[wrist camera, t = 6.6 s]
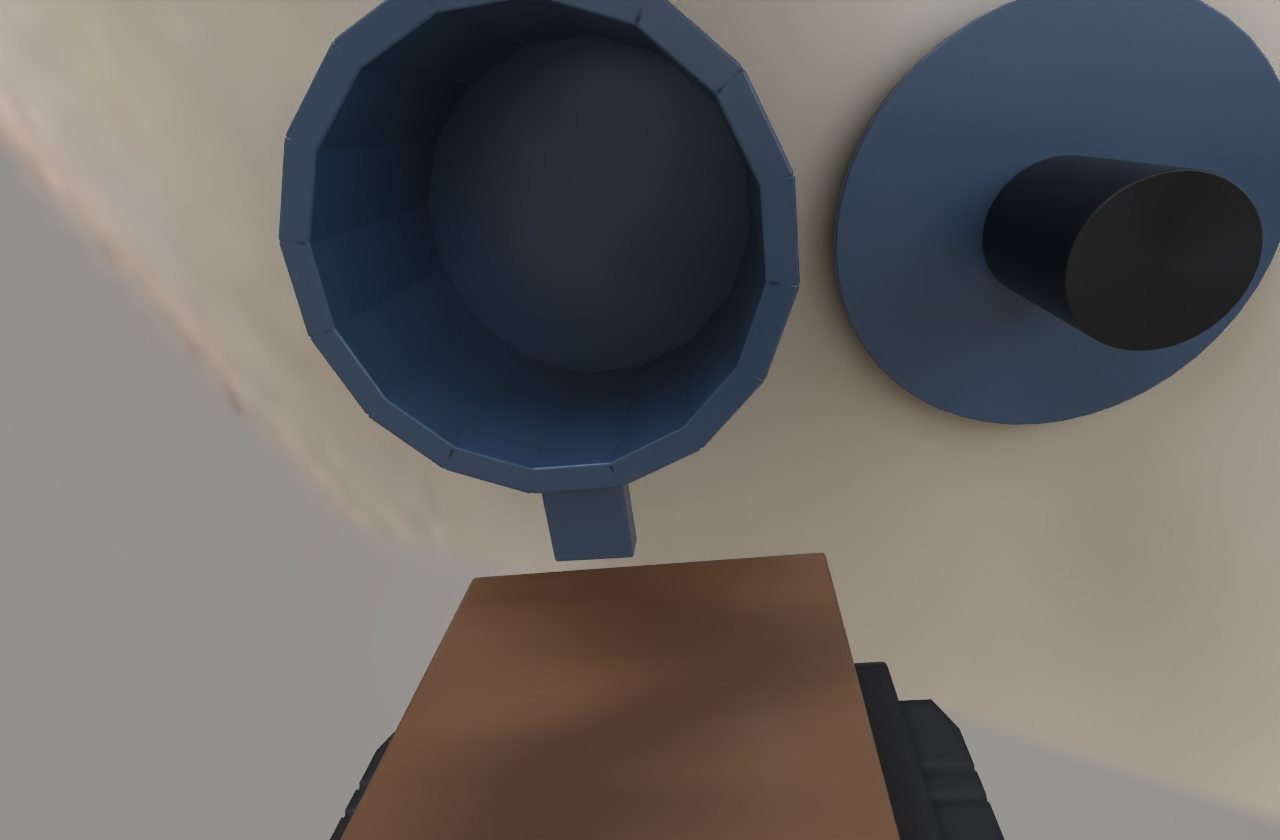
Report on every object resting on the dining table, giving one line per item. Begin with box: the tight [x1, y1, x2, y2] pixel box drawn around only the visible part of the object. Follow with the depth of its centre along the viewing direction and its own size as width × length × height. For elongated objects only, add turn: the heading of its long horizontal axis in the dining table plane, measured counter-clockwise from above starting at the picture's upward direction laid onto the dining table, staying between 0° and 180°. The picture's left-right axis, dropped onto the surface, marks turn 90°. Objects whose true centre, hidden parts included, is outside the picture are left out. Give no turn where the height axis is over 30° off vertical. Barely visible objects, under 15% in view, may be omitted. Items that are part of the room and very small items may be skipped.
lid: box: [833, 0, 1280, 424], centre depth 21 cm, size 14×14×7 cm
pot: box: [279, 0, 800, 561], centre depth 21 cm, size 13×18×8 cm
